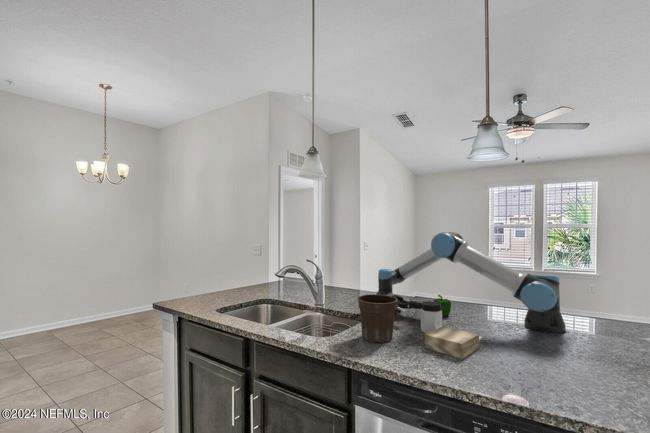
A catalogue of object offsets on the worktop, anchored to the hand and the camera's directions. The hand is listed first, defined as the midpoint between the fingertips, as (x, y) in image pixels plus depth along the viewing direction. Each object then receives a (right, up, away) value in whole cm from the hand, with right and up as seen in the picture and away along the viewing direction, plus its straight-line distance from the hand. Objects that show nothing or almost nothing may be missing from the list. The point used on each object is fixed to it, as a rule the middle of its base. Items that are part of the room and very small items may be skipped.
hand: (418, 312), depth 150 cm
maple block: (+4, -5, -28) cm, 29 cm away
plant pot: (-21, -6, -17) cm, 28 cm away
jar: (+3, -6, -9) cm, 11 cm away
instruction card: (+13, -5, -17) cm, 23 cm away
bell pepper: (+17, -7, +16) cm, 24 cm away
